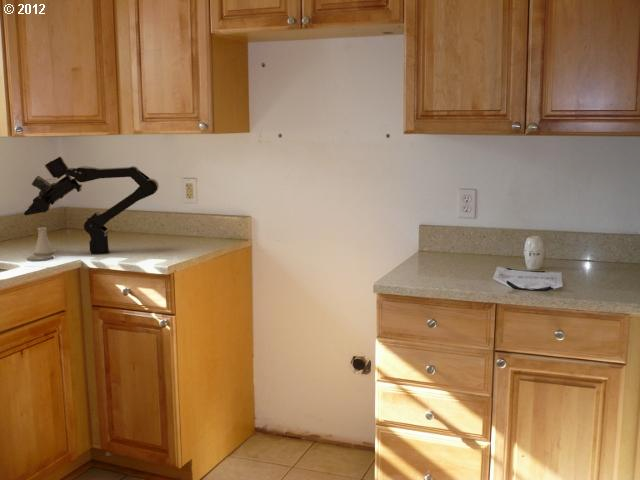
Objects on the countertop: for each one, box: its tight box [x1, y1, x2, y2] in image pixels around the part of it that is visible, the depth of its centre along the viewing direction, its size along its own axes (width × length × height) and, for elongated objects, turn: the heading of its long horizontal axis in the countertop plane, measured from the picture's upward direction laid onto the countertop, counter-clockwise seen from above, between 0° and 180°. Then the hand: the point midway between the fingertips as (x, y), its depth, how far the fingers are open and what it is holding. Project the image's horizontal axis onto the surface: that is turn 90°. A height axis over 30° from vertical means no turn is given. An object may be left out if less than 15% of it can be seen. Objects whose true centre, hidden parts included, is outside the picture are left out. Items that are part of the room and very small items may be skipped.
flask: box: [33, 227, 55, 255], centre depth 272 cm, size 7×7×10 cm
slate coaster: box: [26, 254, 54, 262], centre depth 263 cm, size 9×9×1 cm
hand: (26, 211), depth 268 cm, fingers open, 9 cm apart
